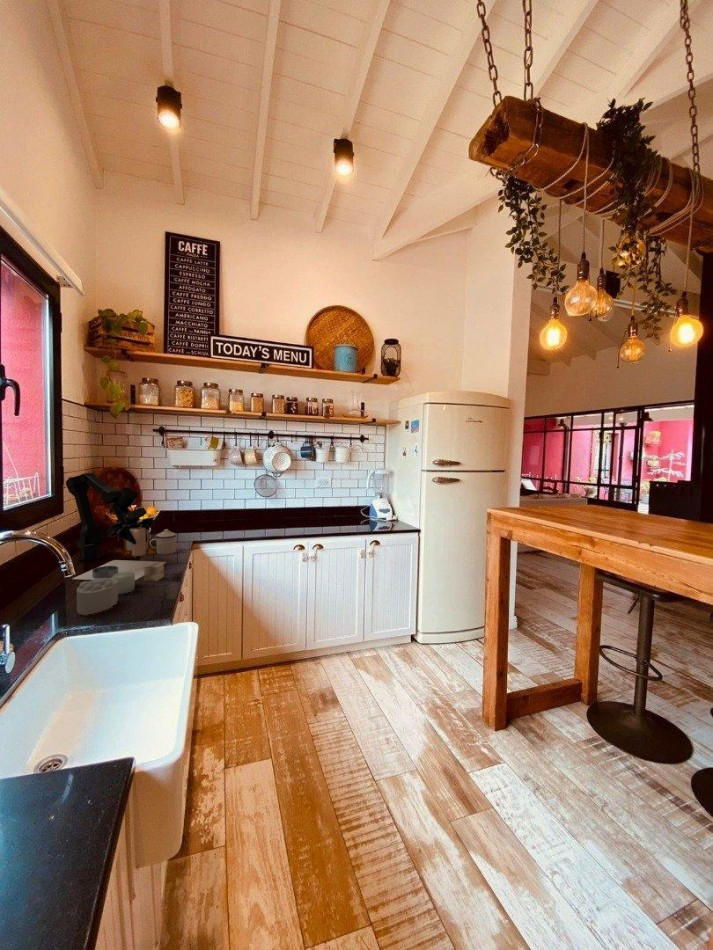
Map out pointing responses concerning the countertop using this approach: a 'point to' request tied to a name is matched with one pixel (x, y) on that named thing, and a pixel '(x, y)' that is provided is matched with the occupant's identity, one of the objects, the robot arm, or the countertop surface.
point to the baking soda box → (129, 545)
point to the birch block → (153, 571)
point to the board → (121, 568)
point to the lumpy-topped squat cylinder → (96, 595)
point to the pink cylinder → (139, 541)
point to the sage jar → (125, 581)
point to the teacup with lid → (165, 542)
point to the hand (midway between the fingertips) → (141, 542)
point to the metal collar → (104, 572)
